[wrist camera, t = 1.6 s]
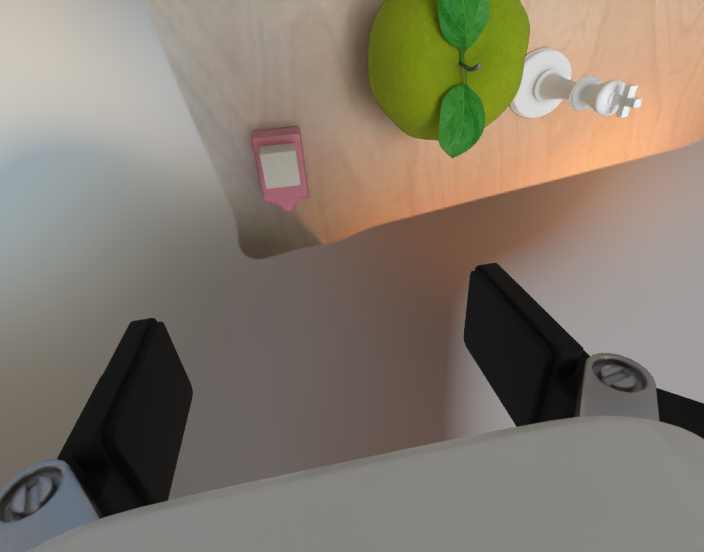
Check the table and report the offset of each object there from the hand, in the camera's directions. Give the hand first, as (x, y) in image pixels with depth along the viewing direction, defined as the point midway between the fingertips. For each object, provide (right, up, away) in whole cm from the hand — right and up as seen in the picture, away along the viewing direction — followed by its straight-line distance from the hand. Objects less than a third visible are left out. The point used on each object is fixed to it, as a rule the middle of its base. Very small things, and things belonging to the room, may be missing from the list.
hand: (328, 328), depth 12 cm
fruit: (+6, +18, +16) cm, 24 cm away
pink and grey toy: (-5, +11, +18) cm, 21 cm away
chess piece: (+15, +17, +18) cm, 29 cm away
